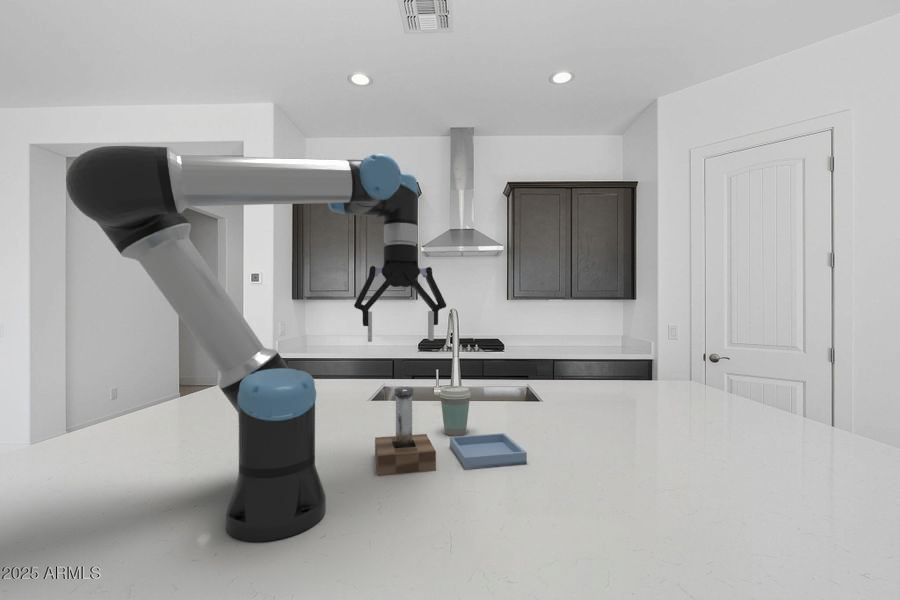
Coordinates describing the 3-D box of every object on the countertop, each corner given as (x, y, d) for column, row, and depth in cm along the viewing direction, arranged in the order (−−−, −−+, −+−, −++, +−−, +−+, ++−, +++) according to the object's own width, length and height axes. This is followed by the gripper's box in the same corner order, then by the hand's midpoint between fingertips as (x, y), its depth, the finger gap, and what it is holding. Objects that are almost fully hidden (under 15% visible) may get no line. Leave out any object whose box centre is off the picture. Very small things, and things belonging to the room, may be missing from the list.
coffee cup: (471, 428, 118) (471, 385, 118) (470, 438, 110) (470, 392, 110) (441, 427, 119) (441, 385, 119) (437, 437, 110) (437, 391, 110)
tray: (526, 463, 92) (526, 452, 92) (464, 469, 89) (464, 457, 89) (504, 443, 106) (504, 433, 106) (449, 447, 103) (449, 437, 103)
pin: (414, 464, 91) (414, 390, 92) (395, 466, 91) (395, 391, 91) (412, 458, 96) (412, 386, 96) (393, 459, 95) (393, 387, 95)
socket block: (435, 470, 89) (435, 451, 89) (377, 475, 86) (378, 455, 86) (426, 450, 100) (426, 433, 100) (375, 454, 98) (375, 437, 98)
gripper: (450, 249, 100) (451, 338, 100) (343, 245, 94) (343, 340, 94) (459, 244, 93) (459, 340, 93) (342, 241, 87) (343, 343, 87)
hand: (400, 340), depth 94 cm, fingers open, 13 cm apart
